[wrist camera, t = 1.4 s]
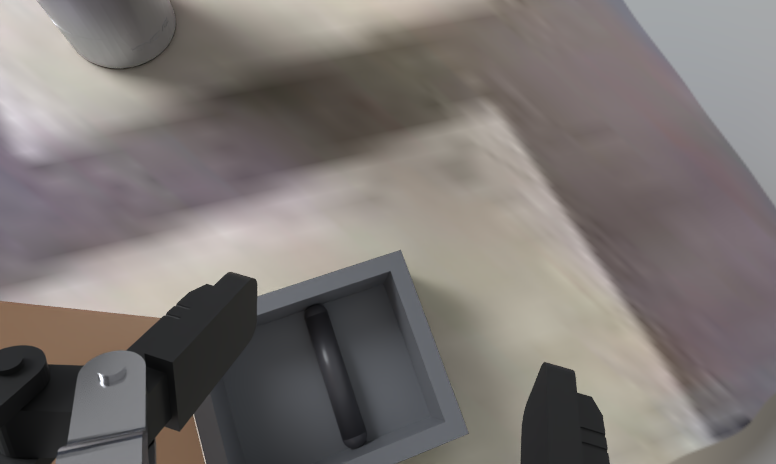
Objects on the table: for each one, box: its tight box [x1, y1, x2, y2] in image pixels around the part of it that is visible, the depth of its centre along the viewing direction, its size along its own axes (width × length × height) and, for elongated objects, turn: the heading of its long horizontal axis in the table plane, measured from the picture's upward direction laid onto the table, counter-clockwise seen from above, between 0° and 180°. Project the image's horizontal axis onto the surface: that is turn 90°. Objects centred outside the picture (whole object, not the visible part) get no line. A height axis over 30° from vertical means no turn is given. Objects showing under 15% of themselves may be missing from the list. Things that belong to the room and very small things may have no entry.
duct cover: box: [0, 301, 205, 464], centre depth 23 cm, size 14×16×1 cm
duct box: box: [194, 250, 469, 464], centre depth 35 cm, size 13×16×6 cm
